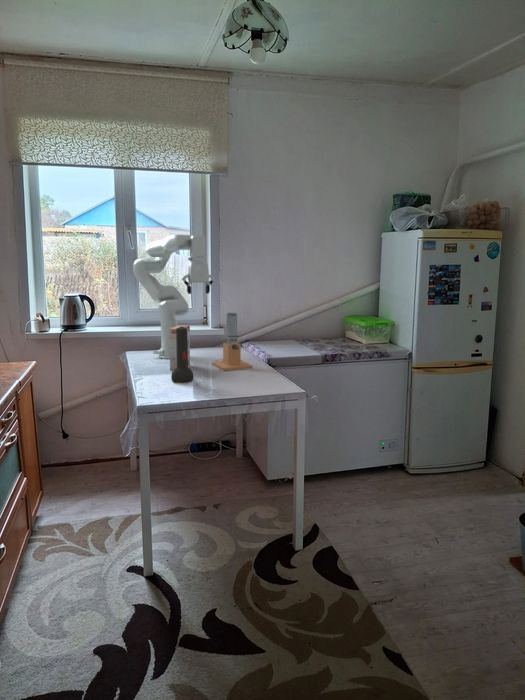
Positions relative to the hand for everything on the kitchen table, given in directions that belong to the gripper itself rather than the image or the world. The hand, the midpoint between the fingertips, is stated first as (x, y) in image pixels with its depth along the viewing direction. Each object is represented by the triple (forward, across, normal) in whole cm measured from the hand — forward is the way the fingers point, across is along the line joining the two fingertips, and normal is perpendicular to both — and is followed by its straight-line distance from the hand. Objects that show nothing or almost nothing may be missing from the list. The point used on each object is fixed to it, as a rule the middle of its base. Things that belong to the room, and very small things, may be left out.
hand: (198, 293), depth 260 cm
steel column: (+28, +12, -16) cm, 35 cm away
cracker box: (+36, -13, -9) cm, 40 cm away
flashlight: (+36, -20, -35) cm, 54 cm away
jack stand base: (+36, +12, -16) cm, 41 cm away
